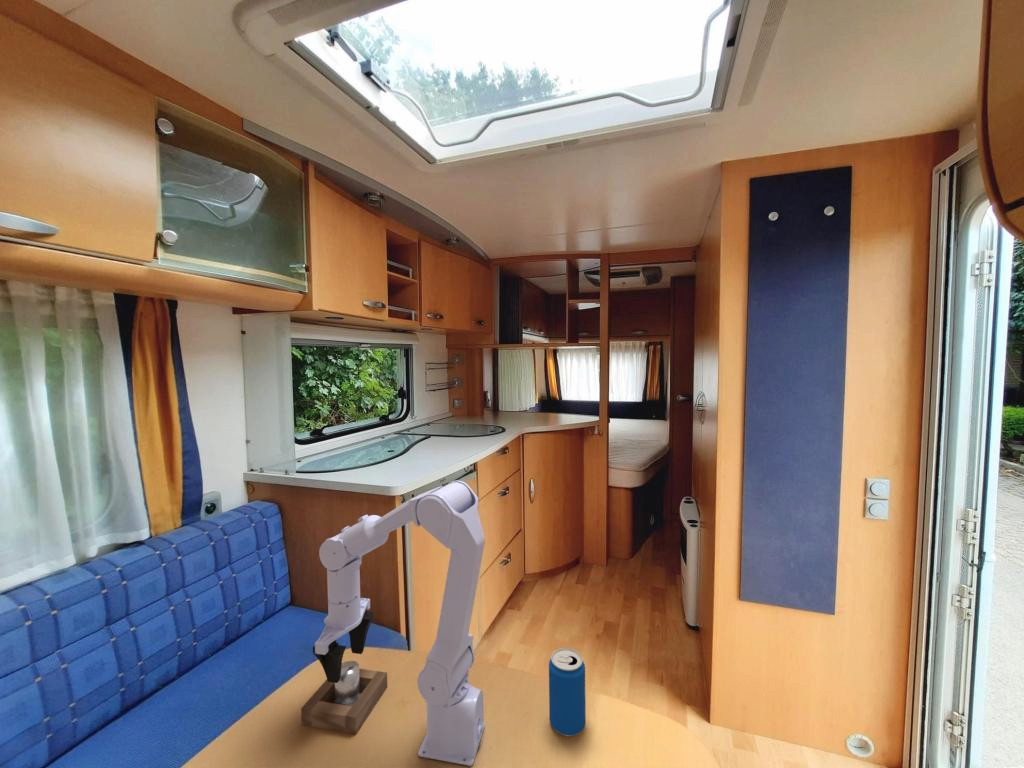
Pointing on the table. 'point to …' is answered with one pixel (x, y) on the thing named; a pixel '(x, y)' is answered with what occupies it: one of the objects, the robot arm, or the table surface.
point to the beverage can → (567, 692)
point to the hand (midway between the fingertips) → (346, 666)
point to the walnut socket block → (343, 716)
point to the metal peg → (348, 684)
